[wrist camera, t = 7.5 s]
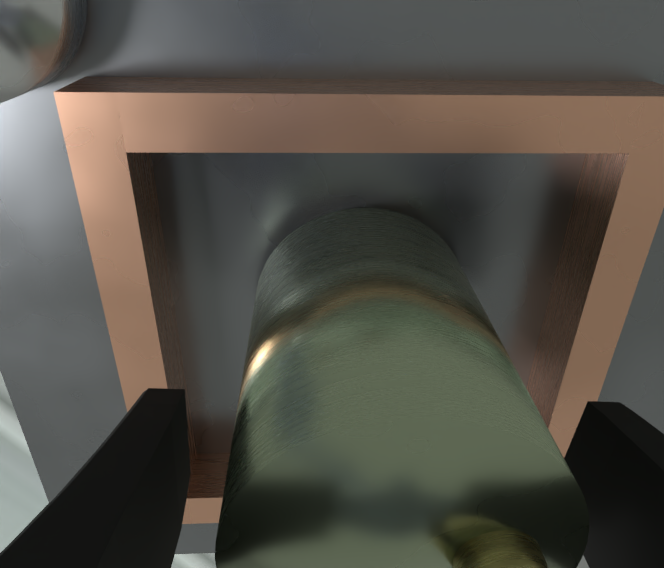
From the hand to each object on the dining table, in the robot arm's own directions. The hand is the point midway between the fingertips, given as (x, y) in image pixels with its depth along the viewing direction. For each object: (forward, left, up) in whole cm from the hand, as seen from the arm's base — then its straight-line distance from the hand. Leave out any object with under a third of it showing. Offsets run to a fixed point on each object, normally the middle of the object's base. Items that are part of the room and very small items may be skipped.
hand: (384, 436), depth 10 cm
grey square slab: (0, 0, -6) cm, 6 cm away
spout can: (0, 0, -4) cm, 4 cm away
